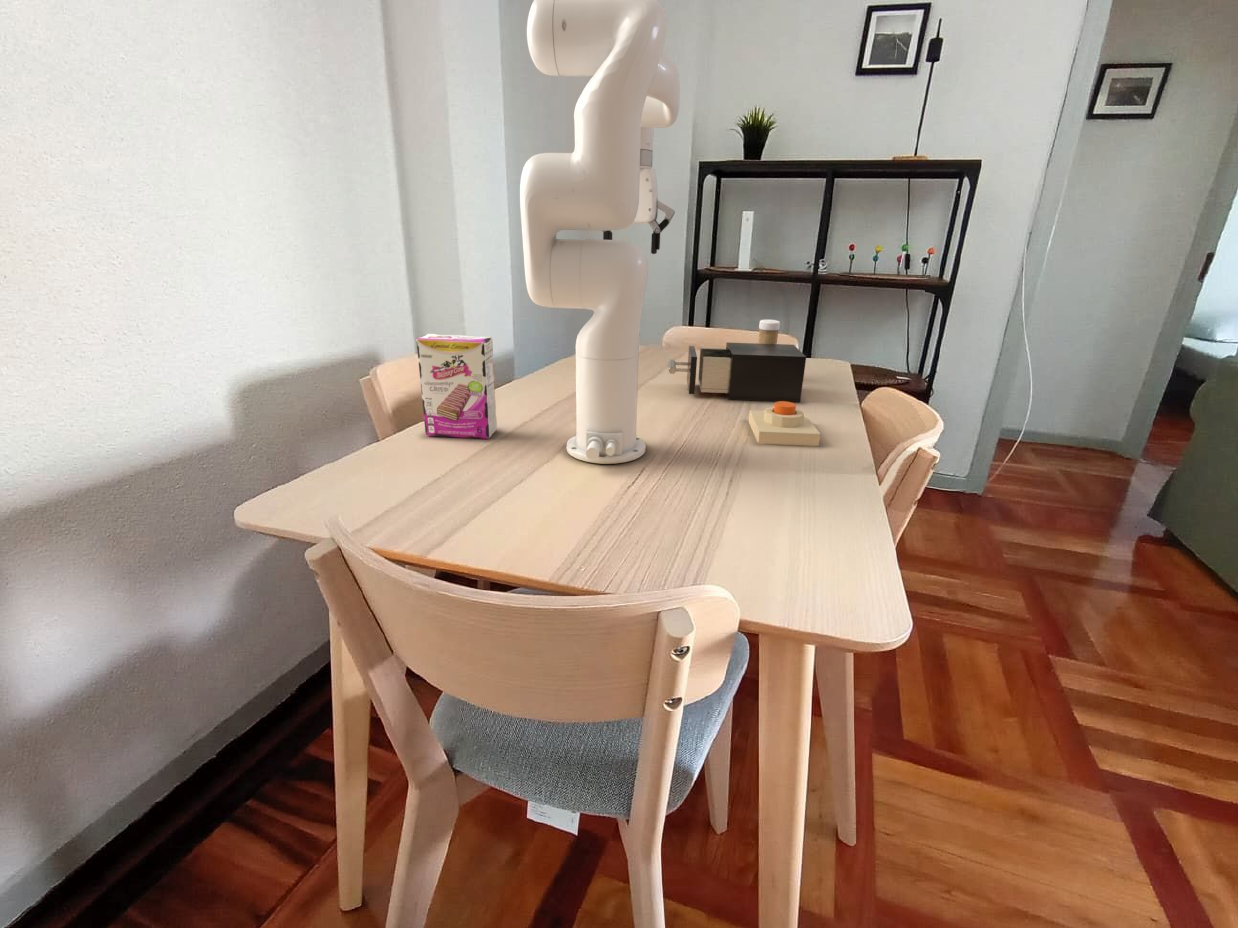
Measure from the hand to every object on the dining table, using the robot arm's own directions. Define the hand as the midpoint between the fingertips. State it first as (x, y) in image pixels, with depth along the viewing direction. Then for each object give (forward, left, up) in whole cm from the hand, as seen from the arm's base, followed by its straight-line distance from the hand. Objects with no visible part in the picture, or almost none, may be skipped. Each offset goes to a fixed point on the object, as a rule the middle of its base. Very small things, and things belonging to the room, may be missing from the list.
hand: (631, 252), depth 127 cm
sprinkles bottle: (+9, -32, -28) cm, 43 cm away
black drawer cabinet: (-5, -29, -28) cm, 40 cm away
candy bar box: (-38, +26, -28) cm, 54 cm away
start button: (-31, -29, -24) cm, 49 cm away
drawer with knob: (-5, -18, -27) cm, 33 cm away
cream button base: (-31, -29, -28) cm, 51 cm away
